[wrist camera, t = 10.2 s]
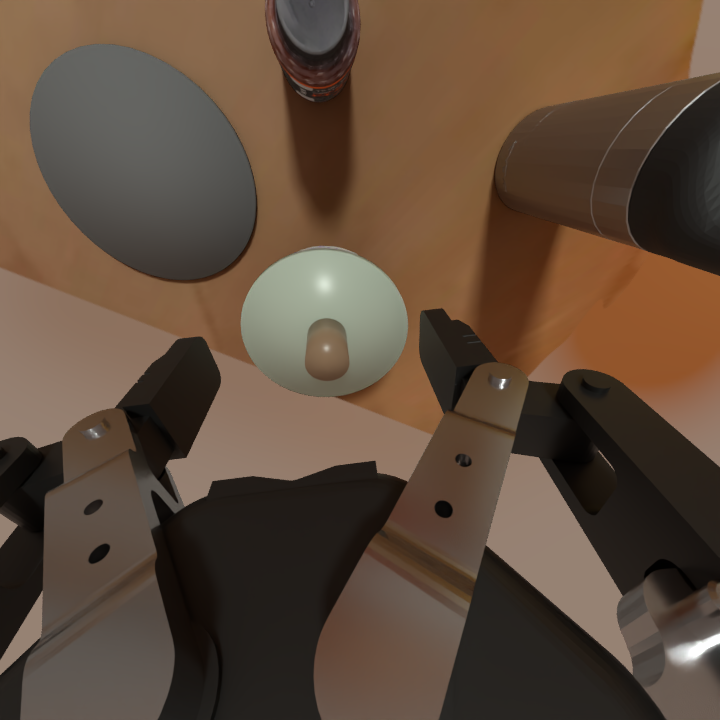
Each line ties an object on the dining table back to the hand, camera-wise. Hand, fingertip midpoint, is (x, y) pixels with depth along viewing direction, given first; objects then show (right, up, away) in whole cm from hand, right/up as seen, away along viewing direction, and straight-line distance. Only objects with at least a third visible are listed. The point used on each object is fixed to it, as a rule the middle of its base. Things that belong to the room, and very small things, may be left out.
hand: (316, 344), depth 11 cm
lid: (-2, +3, +20) cm, 21 cm away
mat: (-18, +17, +18) cm, 31 cm away
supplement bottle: (-2, +25, +14) cm, 29 cm away
